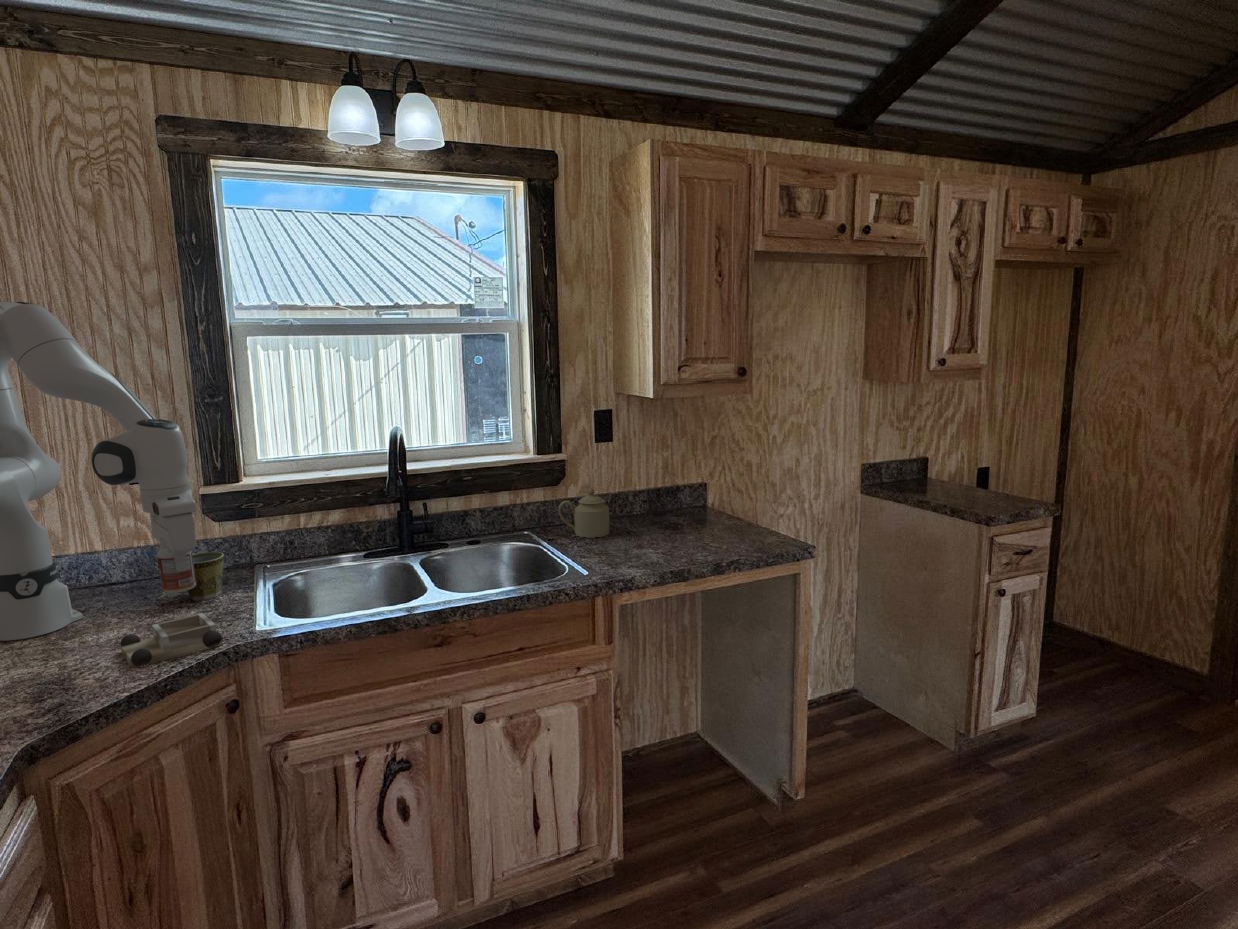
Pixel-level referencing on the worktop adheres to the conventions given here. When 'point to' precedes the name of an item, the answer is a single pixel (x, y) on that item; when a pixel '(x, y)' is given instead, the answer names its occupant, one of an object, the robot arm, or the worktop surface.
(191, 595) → the ceramic cup
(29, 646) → the worktop surface
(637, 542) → the worktop surface
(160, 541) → the pill bottle
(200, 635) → the beige toy truck
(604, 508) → the sugar bowl
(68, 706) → the worktop surface
